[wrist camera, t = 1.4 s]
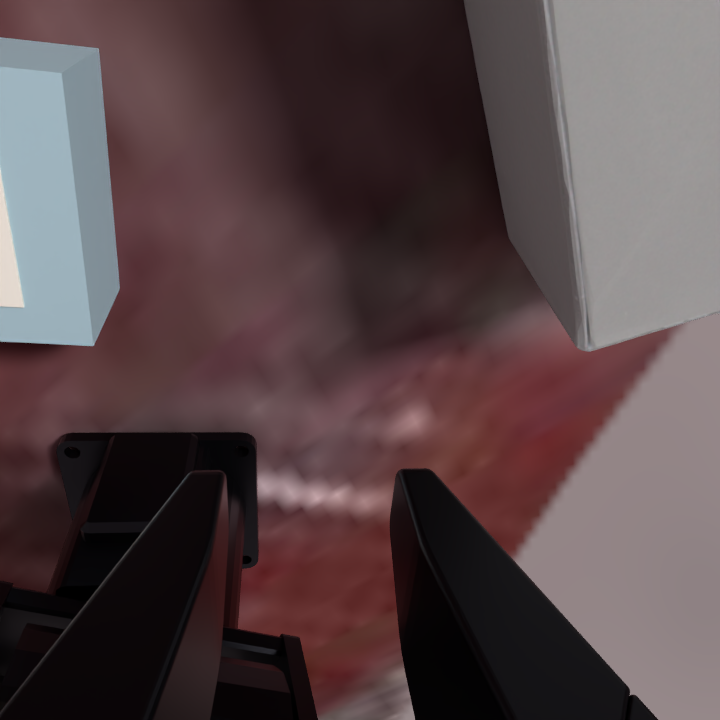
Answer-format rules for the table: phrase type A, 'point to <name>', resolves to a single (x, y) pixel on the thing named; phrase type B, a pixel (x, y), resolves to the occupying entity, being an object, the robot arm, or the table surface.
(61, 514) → the table surface
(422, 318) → the table surface
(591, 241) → the skincare box
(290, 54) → the table surface
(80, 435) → the robot arm
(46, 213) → the light blue rectangular block
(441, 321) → the table surface
